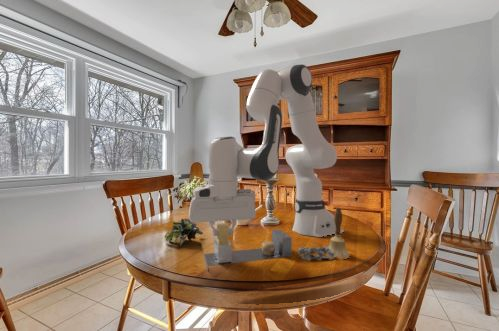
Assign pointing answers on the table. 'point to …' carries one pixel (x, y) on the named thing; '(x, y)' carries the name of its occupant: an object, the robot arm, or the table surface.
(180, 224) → the passion flower
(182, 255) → the table surface
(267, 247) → the hazelnut
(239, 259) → the press base
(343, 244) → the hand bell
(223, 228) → the block
